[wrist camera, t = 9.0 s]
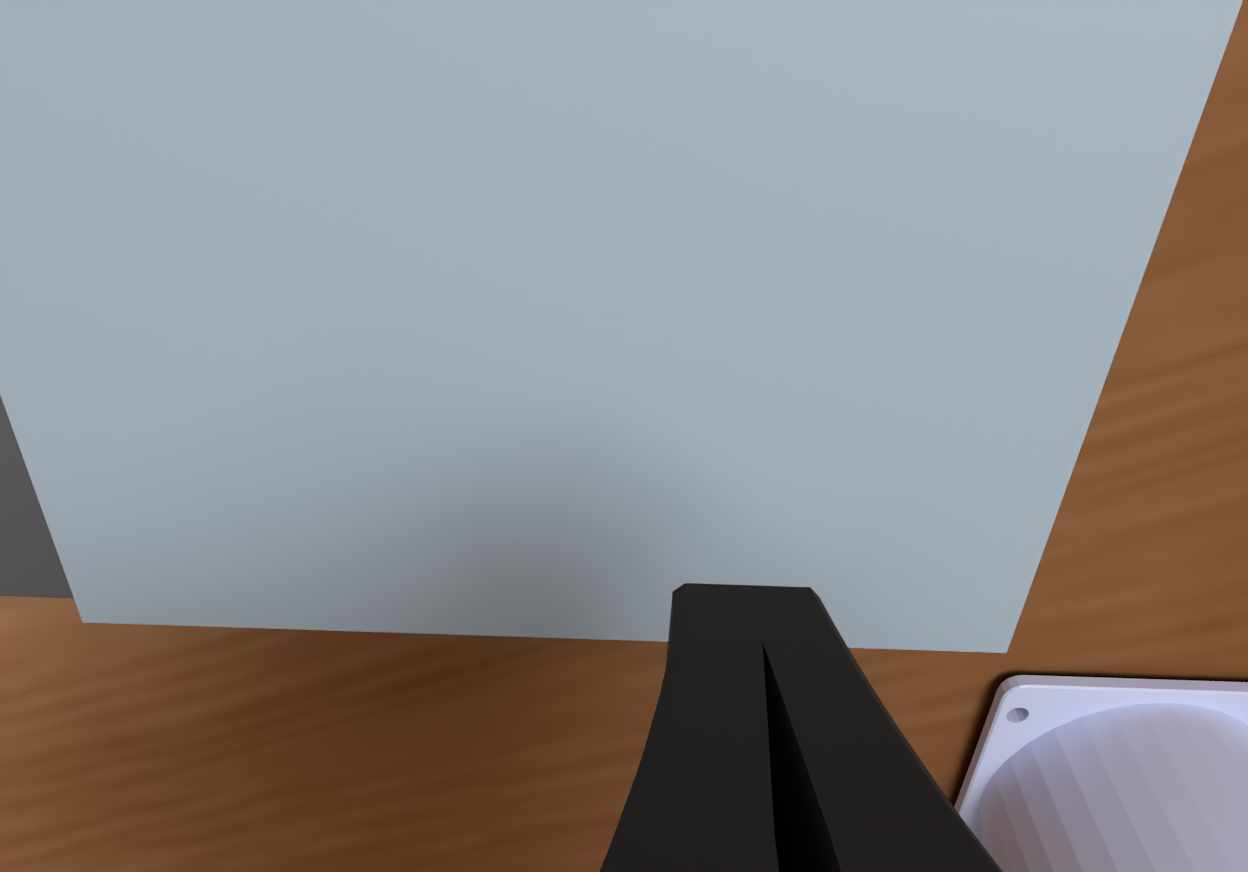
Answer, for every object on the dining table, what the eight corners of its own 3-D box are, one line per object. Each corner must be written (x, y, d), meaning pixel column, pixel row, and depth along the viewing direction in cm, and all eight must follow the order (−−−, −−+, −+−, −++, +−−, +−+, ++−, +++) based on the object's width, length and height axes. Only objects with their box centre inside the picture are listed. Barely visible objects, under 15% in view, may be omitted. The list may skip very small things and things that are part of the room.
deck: (954, 533, 21) (1006, 652, 18) (159, 504, 21) (82, 622, 18) (1139, -98, 15) (1267, -67, 12) (-24, -154, 14) (-193, -137, 11)
